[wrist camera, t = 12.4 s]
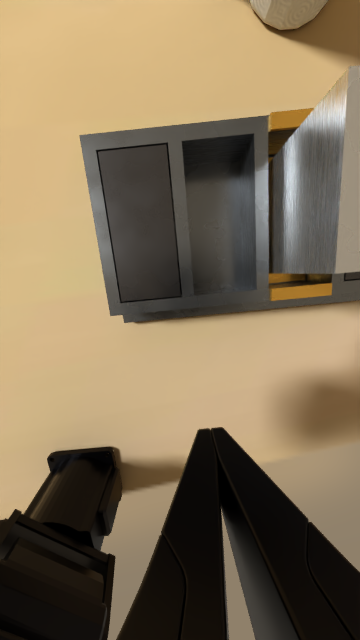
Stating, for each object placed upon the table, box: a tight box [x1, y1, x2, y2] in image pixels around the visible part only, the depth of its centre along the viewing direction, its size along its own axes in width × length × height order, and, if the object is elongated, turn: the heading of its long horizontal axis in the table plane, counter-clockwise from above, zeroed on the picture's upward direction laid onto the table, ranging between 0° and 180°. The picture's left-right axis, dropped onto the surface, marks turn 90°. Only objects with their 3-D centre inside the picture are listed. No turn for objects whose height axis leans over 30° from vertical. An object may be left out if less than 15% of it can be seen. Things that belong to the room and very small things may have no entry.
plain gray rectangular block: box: [268, 66, 360, 274], centre depth 12 cm, size 3×7×8 cm, turn 5°
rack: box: [79, 108, 360, 323], centre depth 15 cm, size 21×13×4 cm, turn 95°
